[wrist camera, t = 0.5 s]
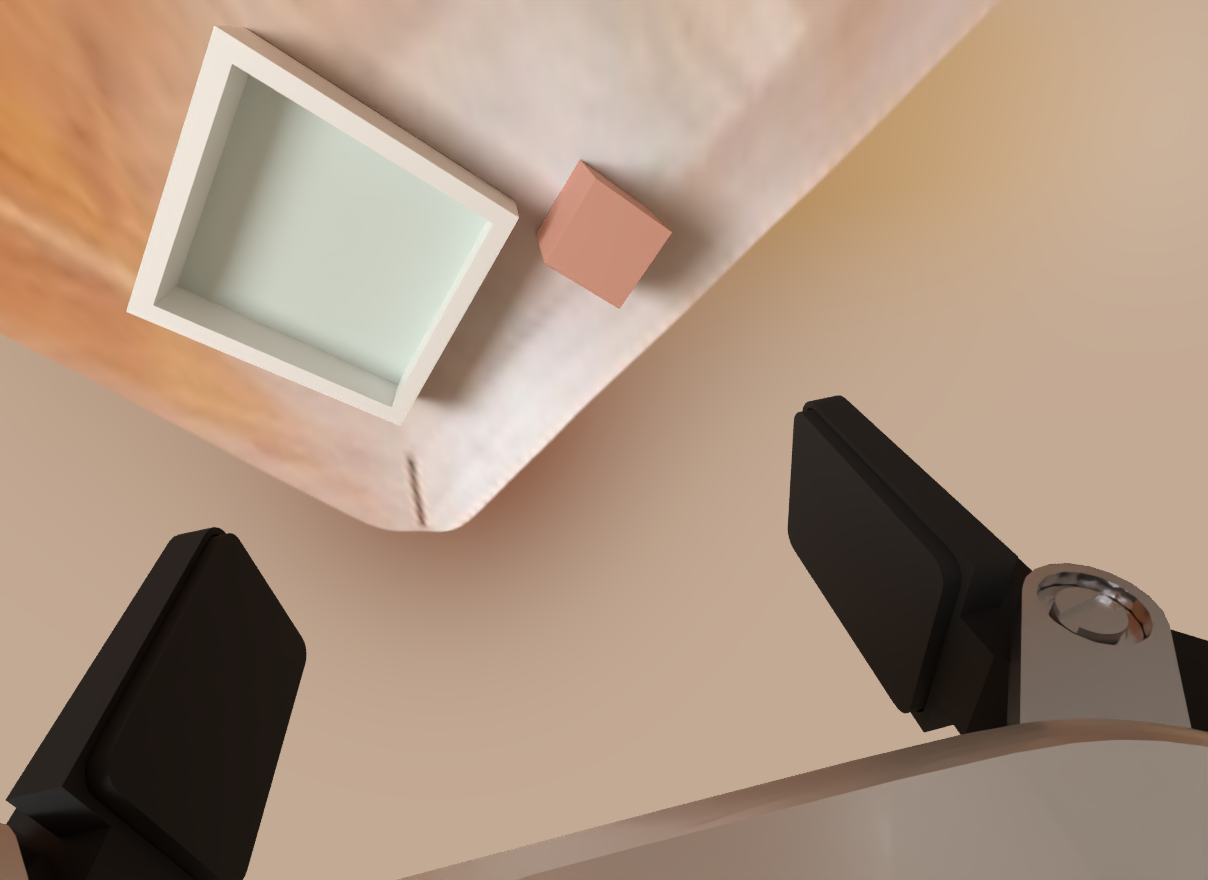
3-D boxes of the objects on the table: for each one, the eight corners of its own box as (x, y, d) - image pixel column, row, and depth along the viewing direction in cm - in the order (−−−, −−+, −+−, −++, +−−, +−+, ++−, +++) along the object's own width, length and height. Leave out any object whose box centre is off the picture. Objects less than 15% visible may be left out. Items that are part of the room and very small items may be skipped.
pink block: (579, 159, 35) (596, 178, 30) (646, 207, 37) (672, 232, 32) (535, 233, 37) (544, 263, 32) (601, 275, 39) (619, 309, 34)
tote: (244, 27, 29) (214, 25, 26) (515, 201, 35) (519, 217, 32) (159, 286, 35) (126, 311, 31) (406, 395, 41) (400, 426, 38)
